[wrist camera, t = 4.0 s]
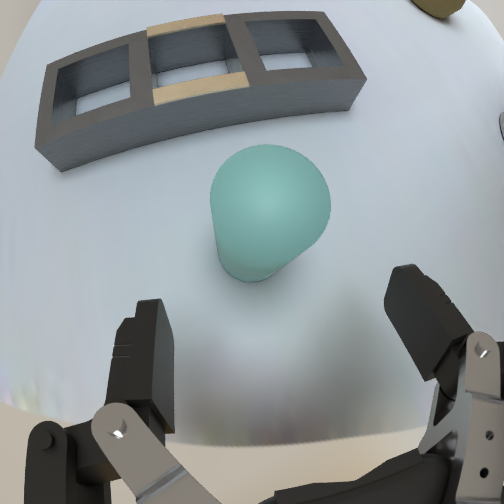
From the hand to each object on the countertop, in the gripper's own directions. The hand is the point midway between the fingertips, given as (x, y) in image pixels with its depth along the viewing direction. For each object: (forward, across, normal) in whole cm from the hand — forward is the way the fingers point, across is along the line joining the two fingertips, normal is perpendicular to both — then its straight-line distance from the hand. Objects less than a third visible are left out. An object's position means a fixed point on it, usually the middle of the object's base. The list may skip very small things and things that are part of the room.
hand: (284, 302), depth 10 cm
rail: (+17, +2, -5) cm, 18 cm away
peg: (+8, 0, +4) cm, 9 cm away
